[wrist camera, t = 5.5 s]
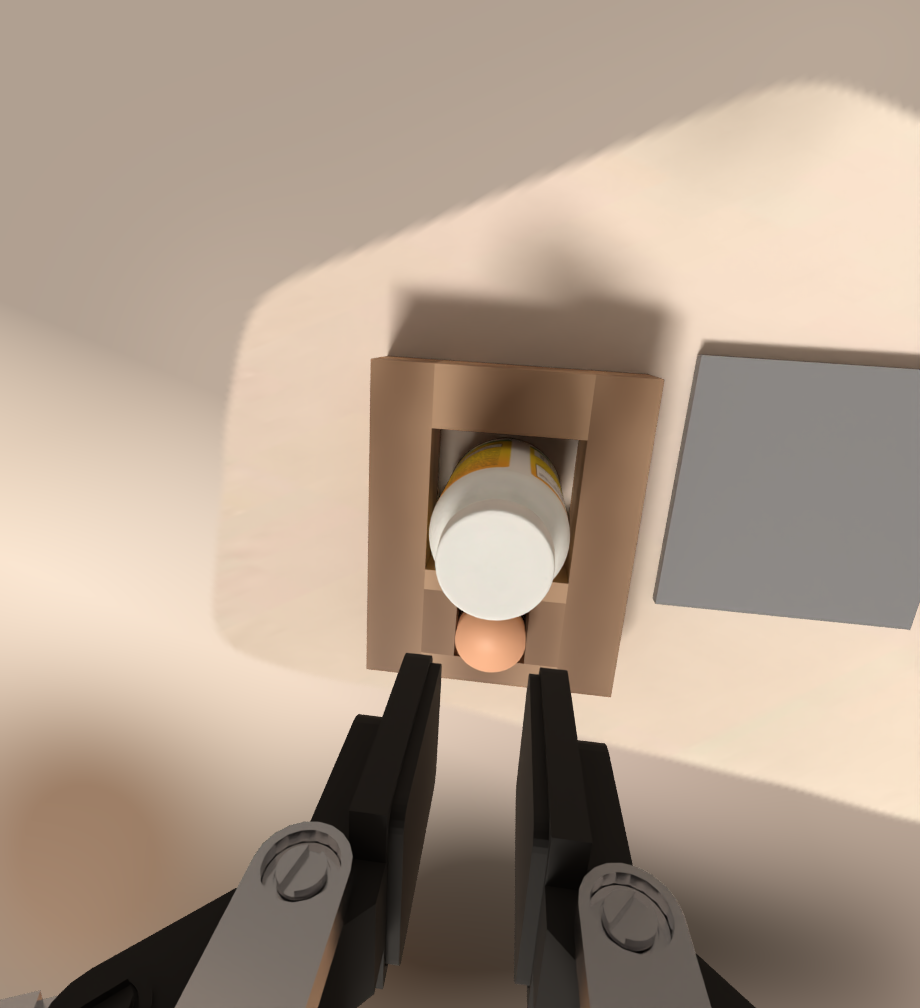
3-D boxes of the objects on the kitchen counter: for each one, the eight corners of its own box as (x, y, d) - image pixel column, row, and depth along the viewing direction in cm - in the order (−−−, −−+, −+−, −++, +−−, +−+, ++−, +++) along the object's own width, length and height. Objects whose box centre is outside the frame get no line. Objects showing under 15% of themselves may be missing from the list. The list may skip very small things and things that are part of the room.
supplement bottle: (575, 456, 27) (604, 520, 17) (537, 554, 28) (546, 660, 19) (467, 421, 27) (440, 467, 17) (437, 522, 28) (397, 612, 19)
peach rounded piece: (527, 576, 28) (529, 614, 25) (521, 631, 29) (521, 676, 26) (465, 570, 29) (457, 606, 25) (461, 625, 30) (452, 668, 26)
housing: (648, 374, 25) (664, 379, 22) (601, 662, 30) (610, 697, 27) (387, 356, 26) (370, 358, 23) (380, 637, 31) (366, 668, 28)
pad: (986, 373, 24) (997, 374, 23) (902, 623, 27) (910, 629, 27) (697, 354, 25) (701, 355, 24) (652, 598, 28) (655, 603, 28)
